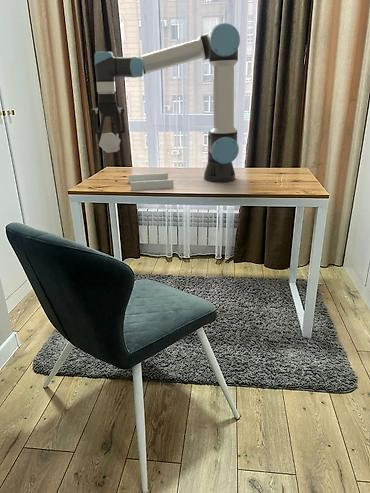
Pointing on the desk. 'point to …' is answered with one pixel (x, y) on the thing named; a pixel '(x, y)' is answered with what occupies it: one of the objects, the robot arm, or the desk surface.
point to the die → (109, 142)
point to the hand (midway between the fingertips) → (111, 149)
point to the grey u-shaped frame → (150, 181)
